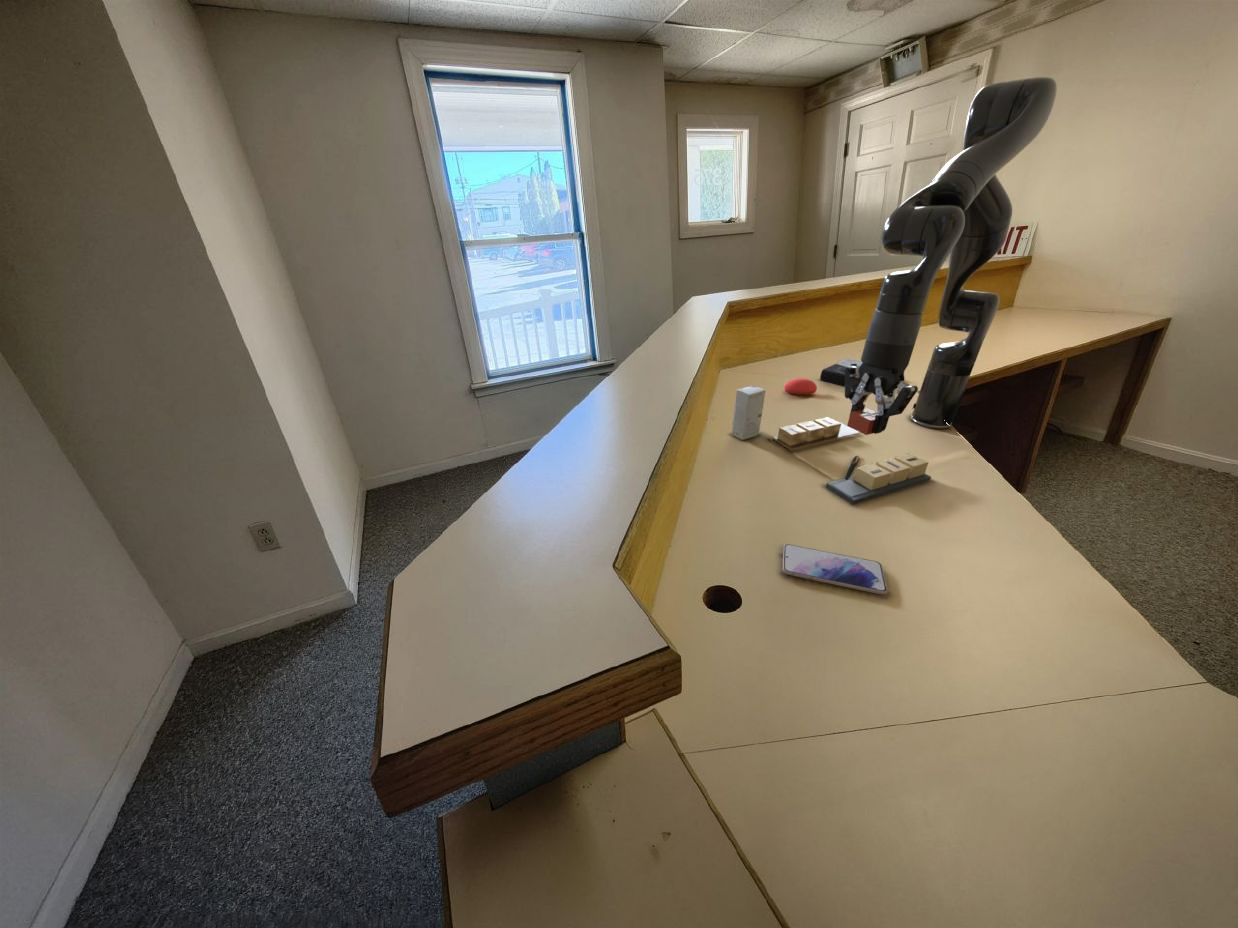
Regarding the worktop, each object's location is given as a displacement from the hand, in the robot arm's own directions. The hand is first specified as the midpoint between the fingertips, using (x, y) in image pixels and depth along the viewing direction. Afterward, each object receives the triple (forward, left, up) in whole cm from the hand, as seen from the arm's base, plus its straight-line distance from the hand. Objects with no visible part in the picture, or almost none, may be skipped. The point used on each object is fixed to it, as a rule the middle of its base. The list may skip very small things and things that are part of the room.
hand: (865, 427), depth 87 cm
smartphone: (+22, +17, -14) cm, 31 cm away
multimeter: (-55, -51, -14) cm, 77 cm away
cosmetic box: (+4, -30, -14) cm, 33 cm away
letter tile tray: (-11, -21, -14) cm, 28 cm away
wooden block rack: (-7, +1, -14) cm, 16 cm away
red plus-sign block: (0, 0, 0) cm, 0 cm away
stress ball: (-29, -47, -14) cm, 57 cm away
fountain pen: (-6, -5, -13) cm, 15 cm away
